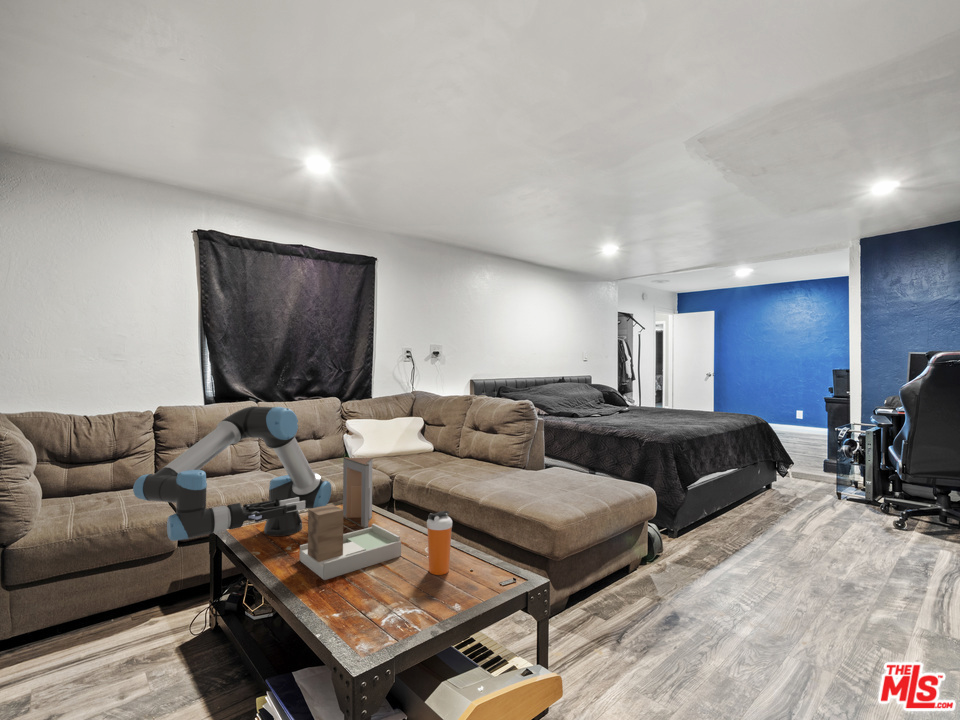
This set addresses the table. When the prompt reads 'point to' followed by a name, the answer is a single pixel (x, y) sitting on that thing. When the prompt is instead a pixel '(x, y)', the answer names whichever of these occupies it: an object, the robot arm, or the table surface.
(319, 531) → the walnut block
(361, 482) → the cabinet
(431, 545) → the shaker bottle
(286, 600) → the table surface
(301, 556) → the box
